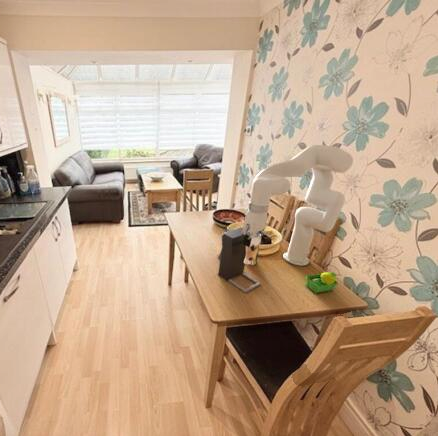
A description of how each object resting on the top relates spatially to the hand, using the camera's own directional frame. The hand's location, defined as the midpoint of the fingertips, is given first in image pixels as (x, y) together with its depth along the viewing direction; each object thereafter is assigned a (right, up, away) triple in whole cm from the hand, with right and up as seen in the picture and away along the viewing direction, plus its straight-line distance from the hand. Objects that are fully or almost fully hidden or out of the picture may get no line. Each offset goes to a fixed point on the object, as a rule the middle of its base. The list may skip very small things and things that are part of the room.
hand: (251, 243), depth 109 cm
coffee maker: (-2, -19, +12) cm, 23 cm away
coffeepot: (-2, -12, +29) cm, 31 cm away
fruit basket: (+34, -22, +4) cm, 41 cm away
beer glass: (0, -9, +4) cm, 10 cm away
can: (+10, -13, +25) cm, 30 cm away
